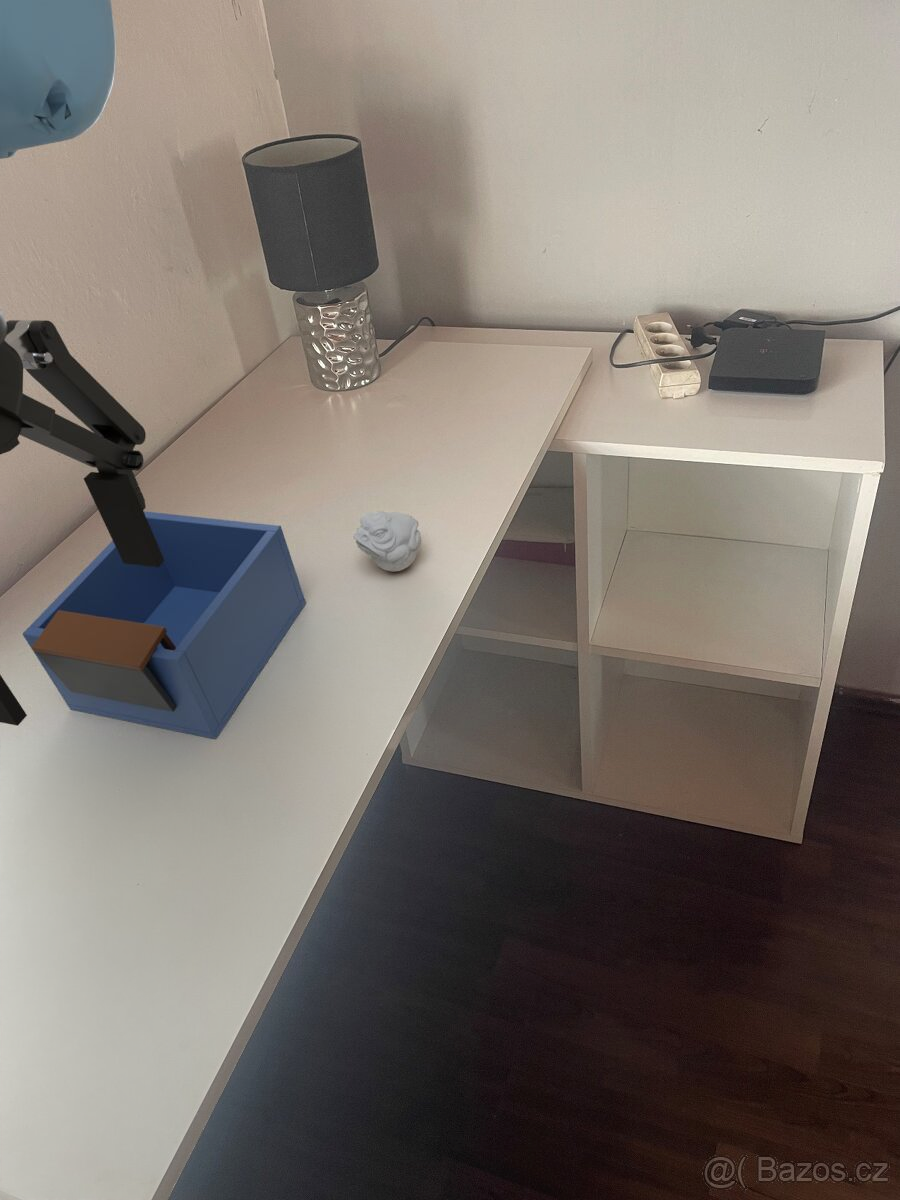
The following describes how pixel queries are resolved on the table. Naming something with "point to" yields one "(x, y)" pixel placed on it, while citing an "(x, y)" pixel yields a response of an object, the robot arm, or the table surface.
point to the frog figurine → (389, 539)
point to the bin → (191, 615)
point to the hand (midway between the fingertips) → (80, 632)
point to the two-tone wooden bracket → (105, 657)
